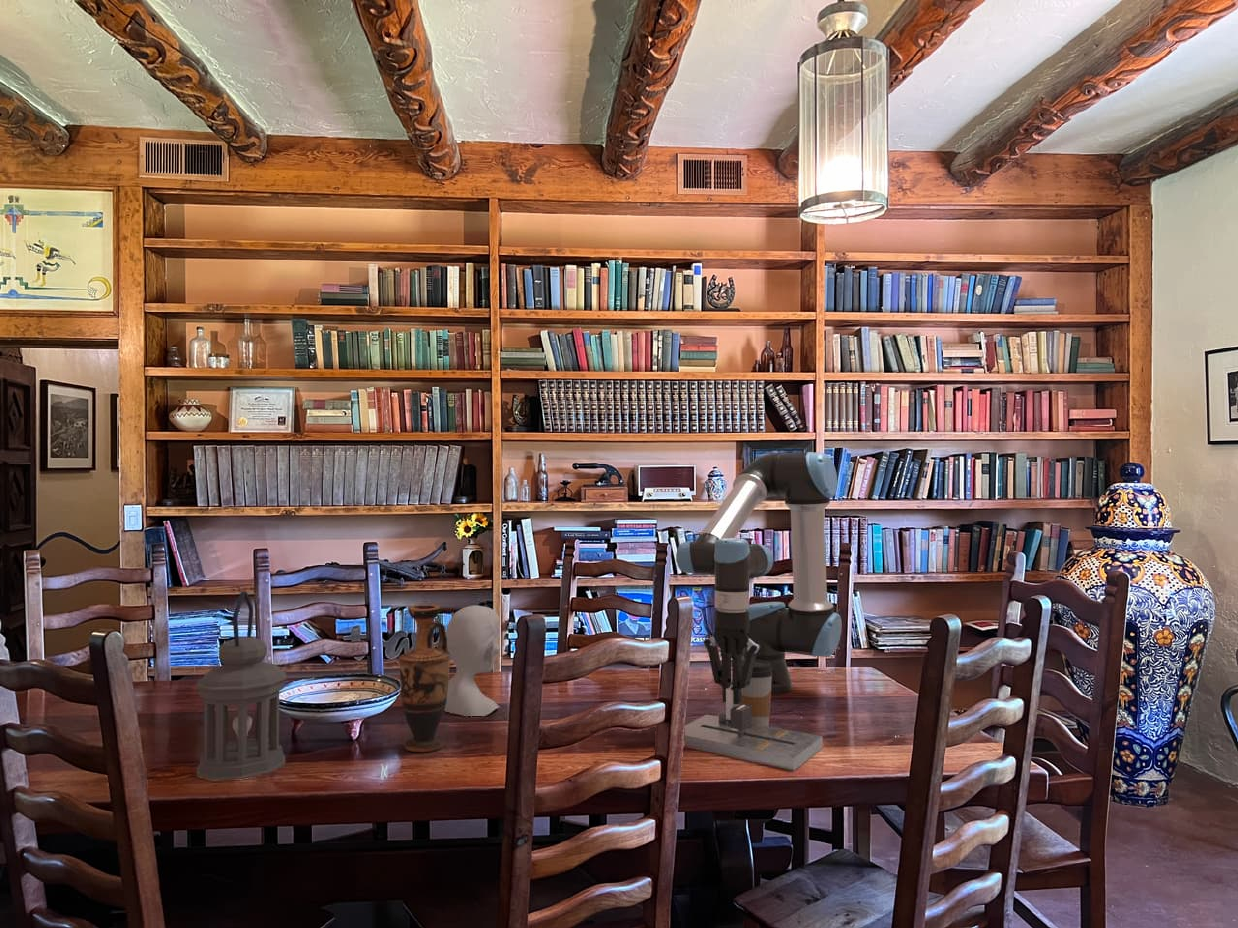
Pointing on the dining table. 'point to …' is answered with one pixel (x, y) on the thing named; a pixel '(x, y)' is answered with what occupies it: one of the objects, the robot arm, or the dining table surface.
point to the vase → (425, 681)
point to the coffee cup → (758, 692)
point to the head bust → (471, 658)
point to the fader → (740, 717)
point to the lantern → (241, 708)
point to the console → (752, 742)
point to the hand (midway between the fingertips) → (731, 717)
